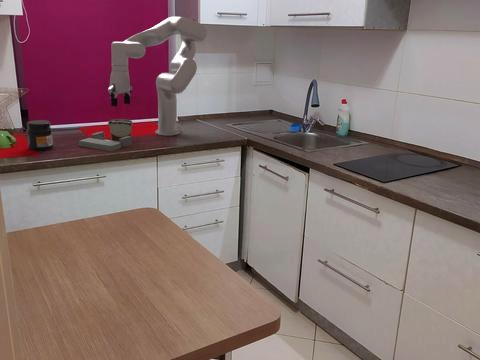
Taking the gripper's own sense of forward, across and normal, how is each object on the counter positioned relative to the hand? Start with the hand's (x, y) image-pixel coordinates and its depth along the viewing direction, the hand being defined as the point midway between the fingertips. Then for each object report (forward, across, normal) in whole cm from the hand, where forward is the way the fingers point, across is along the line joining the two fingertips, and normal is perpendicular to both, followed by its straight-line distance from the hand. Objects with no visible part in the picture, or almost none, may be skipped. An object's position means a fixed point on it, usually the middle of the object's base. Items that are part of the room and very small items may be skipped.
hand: (120, 105), depth 230 cm
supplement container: (+18, +32, -20) cm, 42 cm away
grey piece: (+18, +13, 0) cm, 22 cm away
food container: (+18, -1, 0) cm, 18 cm away
